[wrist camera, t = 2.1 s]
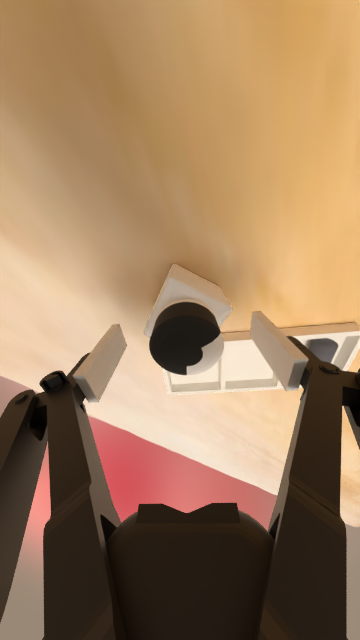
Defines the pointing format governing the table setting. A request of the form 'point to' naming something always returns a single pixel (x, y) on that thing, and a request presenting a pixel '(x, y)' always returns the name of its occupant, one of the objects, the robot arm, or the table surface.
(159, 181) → the table surface
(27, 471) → the robot arm
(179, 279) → the medicine bottle
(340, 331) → the organiser
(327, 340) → the grey cylinder
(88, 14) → the table surface
